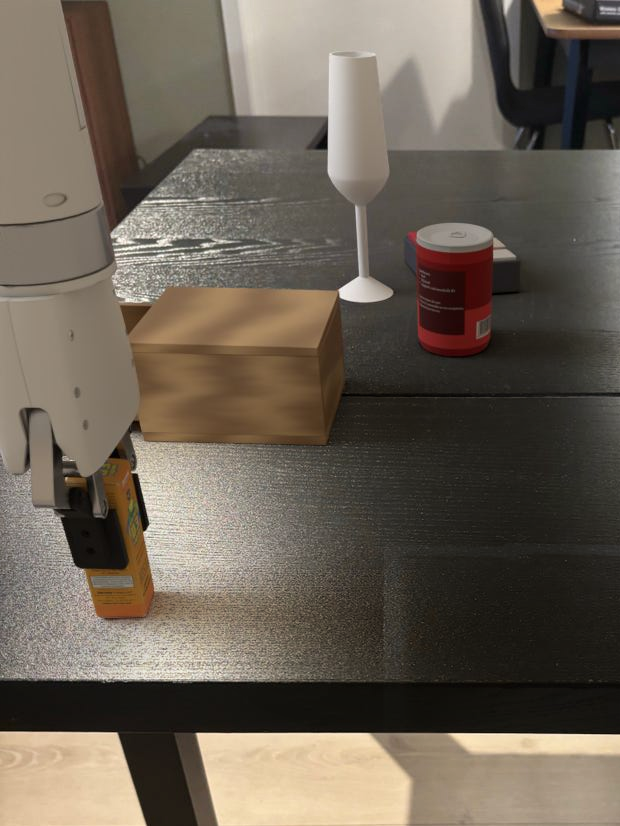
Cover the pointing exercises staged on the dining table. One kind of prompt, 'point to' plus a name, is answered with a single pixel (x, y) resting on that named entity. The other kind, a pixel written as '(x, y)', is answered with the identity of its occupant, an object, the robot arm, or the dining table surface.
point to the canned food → (454, 288)
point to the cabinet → (239, 365)
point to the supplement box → (133, 584)
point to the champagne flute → (357, 153)
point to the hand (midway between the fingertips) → (113, 544)
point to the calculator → (503, 264)
